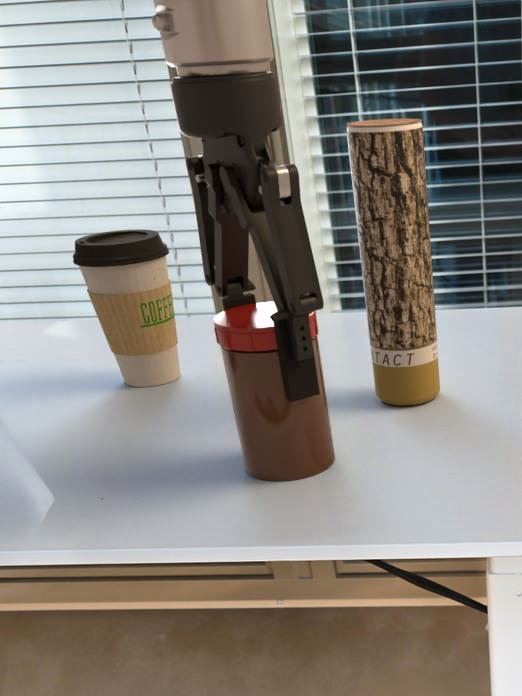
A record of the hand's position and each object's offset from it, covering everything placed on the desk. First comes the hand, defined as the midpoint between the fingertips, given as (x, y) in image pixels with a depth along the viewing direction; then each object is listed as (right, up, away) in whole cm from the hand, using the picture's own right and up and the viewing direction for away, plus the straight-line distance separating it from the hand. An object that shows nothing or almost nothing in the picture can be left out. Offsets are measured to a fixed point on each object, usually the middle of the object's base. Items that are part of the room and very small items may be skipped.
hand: (277, 384), depth 76 cm
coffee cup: (-20, +8, +26) cm, 34 cm away
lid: (0, +4, -3) cm, 5 cm away
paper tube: (+10, +3, +17) cm, 20 cm away
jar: (0, -6, +4) cm, 7 cm away
